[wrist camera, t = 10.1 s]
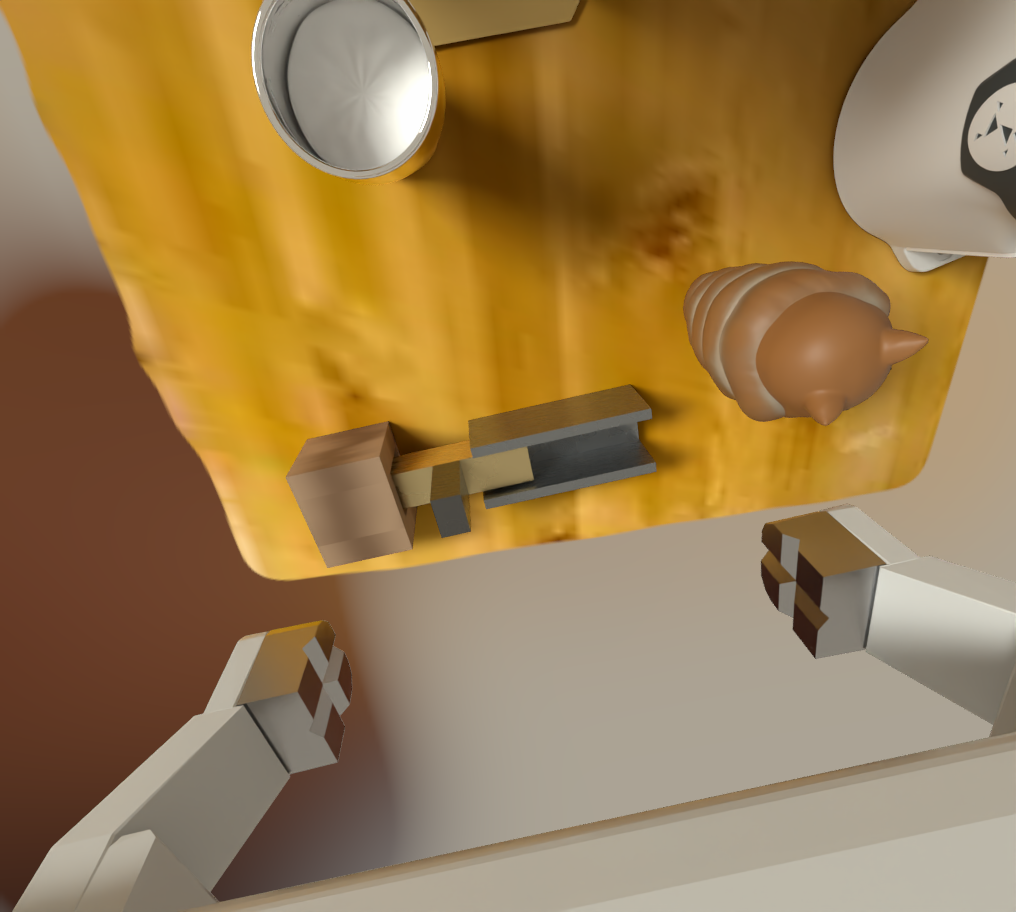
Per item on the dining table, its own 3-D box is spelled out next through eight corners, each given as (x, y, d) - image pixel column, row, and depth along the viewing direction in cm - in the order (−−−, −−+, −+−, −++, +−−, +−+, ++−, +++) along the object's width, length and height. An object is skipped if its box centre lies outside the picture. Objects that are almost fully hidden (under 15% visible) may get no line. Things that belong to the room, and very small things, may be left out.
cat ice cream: (689, 375, 42) (834, 494, 26) (624, 307, 39) (743, 394, 23) (781, 289, 39) (1005, 361, 23) (719, 210, 36) (926, 231, 20)
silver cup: (438, 43, 31) (426, -63, 18) (456, 178, 34) (457, 174, 21) (318, 56, 31) (213, -41, 17) (347, 190, 34) (278, 195, 21)
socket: (388, 421, 41) (379, 456, 36) (417, 506, 45) (412, 549, 40) (307, 439, 41) (285, 477, 36) (342, 522, 45) (327, 568, 40)
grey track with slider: (630, 384, 42) (651, 408, 37) (636, 442, 44) (656, 471, 40) (468, 420, 42) (470, 448, 37) (482, 476, 44) (486, 509, 40)
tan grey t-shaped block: (521, 428, 41) (535, 477, 34) (528, 461, 43) (543, 515, 36) (346, 467, 41) (324, 524, 34) (358, 499, 43) (340, 560, 36)
